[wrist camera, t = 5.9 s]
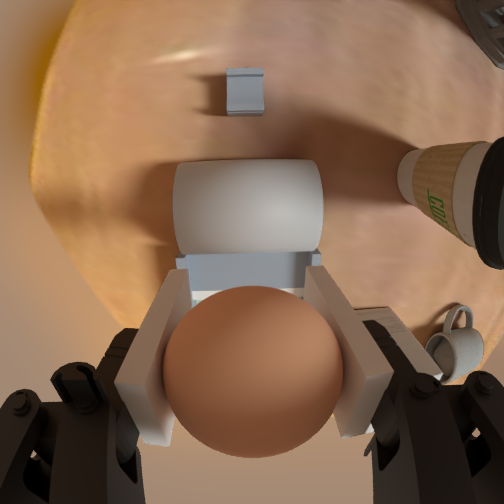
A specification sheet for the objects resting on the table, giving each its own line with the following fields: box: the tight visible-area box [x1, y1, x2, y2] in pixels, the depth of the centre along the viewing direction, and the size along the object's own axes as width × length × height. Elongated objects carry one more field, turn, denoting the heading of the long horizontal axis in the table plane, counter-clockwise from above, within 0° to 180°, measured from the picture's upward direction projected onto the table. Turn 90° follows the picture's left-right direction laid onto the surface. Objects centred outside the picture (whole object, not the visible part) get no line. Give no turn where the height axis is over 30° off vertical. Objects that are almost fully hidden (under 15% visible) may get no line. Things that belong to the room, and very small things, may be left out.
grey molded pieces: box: [172, 68, 323, 308], centre depth 25 cm, size 31×13×8 cm, turn 1°
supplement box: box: [355, 307, 443, 433], centre depth 26 cm, size 7×7×13 cm
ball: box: [163, 286, 343, 458], centre depth 7 cm, size 5×5×5 cm
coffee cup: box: [397, 137, 504, 270], centre depth 18 cm, size 10×10×15 cm
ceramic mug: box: [425, 305, 484, 385], centre depth 30 cm, size 11×8×8 cm
